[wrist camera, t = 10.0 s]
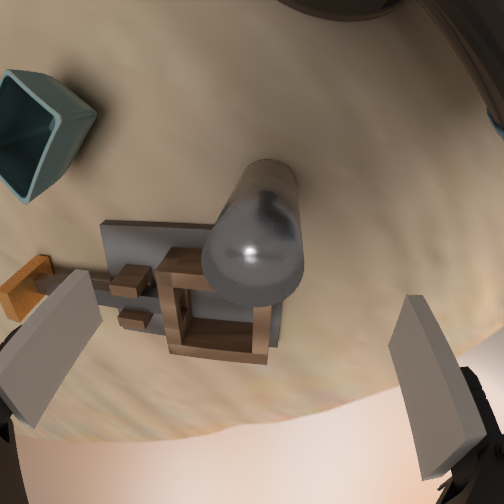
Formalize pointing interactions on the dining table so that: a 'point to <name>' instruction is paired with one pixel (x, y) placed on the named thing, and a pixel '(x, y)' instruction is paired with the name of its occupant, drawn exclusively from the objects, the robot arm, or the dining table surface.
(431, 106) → the dining table surface
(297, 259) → the grey metal cylinder
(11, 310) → the lock pin
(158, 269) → the dock
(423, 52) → the dining table surface
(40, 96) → the flower pot
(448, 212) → the dining table surface
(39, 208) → the dining table surface
